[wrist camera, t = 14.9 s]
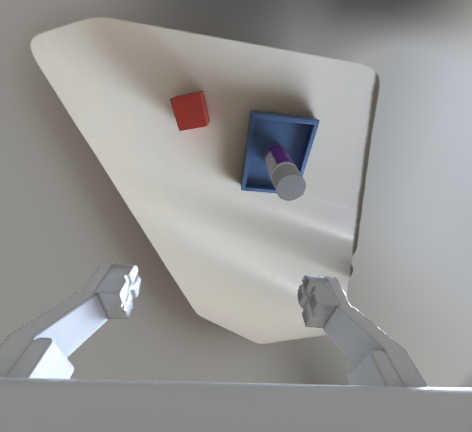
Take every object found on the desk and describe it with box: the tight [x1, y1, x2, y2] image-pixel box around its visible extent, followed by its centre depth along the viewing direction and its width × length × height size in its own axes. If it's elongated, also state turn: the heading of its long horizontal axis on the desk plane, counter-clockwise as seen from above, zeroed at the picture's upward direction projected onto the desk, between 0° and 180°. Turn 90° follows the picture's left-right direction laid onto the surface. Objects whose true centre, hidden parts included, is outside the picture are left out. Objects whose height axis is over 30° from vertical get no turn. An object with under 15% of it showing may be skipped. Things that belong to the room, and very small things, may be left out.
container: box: [264, 145, 306, 201], centre depth 38 cm, size 5×5×15 cm
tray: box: [241, 111, 319, 193], centre depth 43 cm, size 16×13×3 cm
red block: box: [170, 91, 210, 131], centre depth 37 cm, size 5×5×5 cm
